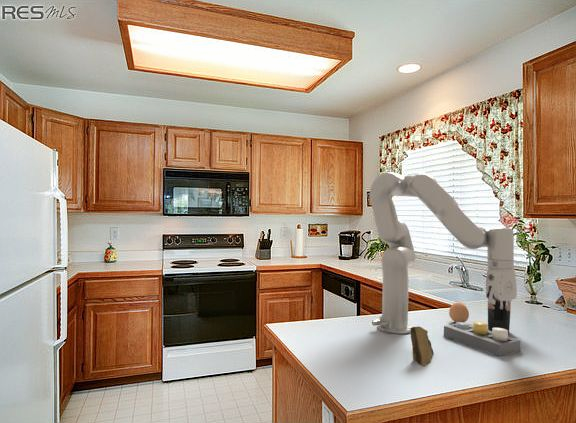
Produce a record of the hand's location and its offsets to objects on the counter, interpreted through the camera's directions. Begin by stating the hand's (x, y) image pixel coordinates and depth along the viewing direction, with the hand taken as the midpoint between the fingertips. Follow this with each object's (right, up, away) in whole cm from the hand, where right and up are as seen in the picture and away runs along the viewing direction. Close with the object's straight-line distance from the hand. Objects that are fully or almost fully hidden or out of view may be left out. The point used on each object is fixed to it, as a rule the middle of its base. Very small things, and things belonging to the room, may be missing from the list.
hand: (500, 320), depth 121 cm
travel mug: (+11, -10, +21) cm, 26 cm away
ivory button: (0, -6, 0) cm, 6 cm away
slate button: (-7, -8, +12) cm, 16 cm away
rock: (-28, -9, -9) cm, 31 cm away
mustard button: (-3, -6, +6) cm, 9 cm away
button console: (-4, -10, +6) cm, 12 cm away
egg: (0, -10, +30) cm, 31 cm away
